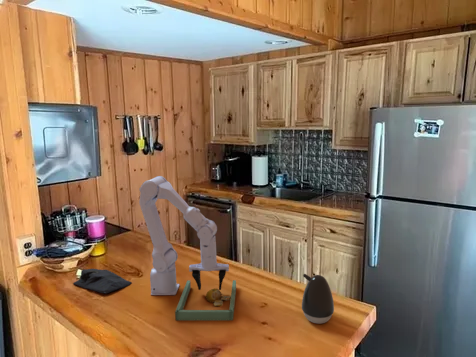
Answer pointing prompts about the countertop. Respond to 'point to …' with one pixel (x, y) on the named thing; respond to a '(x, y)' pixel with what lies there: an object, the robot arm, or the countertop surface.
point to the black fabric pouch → (101, 280)
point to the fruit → (216, 297)
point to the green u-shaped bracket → (204, 314)
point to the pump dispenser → (317, 300)
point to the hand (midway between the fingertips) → (210, 288)
